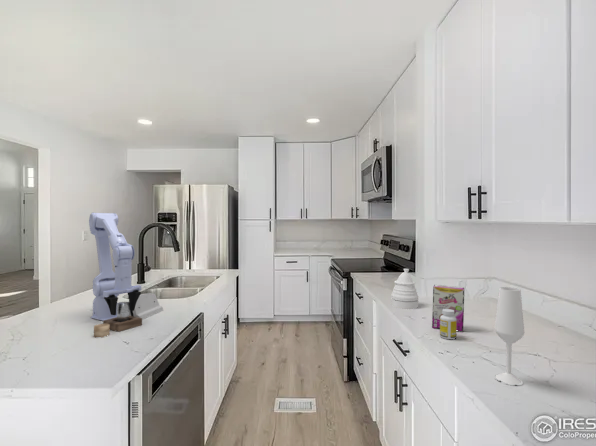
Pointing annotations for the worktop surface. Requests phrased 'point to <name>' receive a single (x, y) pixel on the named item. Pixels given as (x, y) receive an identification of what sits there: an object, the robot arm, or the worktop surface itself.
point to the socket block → (123, 323)
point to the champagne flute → (509, 326)
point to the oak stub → (101, 330)
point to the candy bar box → (448, 304)
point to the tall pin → (122, 311)
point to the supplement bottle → (448, 324)
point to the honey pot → (404, 292)
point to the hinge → (146, 306)
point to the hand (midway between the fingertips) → (122, 312)
